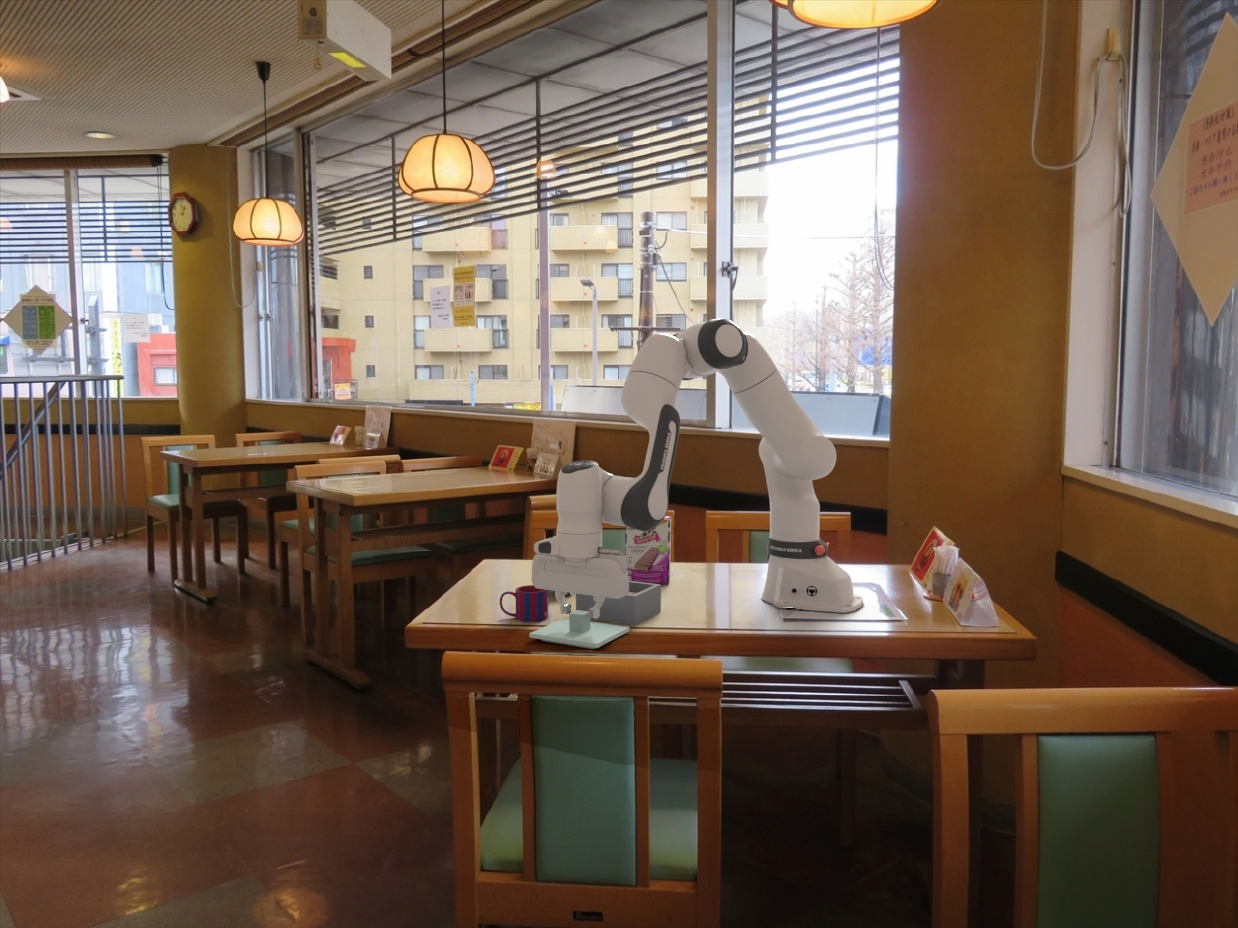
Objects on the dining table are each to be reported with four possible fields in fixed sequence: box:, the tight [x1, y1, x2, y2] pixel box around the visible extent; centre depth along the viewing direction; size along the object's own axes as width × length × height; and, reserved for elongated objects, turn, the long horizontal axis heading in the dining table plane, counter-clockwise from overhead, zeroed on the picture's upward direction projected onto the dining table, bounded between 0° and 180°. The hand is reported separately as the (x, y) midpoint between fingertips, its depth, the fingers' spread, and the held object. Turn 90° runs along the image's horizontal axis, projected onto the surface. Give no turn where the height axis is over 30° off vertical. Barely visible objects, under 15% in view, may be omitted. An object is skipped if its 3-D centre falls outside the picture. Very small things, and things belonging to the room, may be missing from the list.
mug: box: [499, 584, 549, 623], centre depth 198 cm, size 7×10×7 cm
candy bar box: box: [624, 515, 672, 586], centre depth 233 cm, size 11×5×16 cm, turn 84°
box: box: [575, 581, 662, 626], centre depth 201 cm, size 14×12×6 cm
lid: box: [528, 609, 631, 650], centre depth 185 cm, size 15×13×6 cm
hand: (579, 615), depth 184 cm, fingers open, 5 cm apart
